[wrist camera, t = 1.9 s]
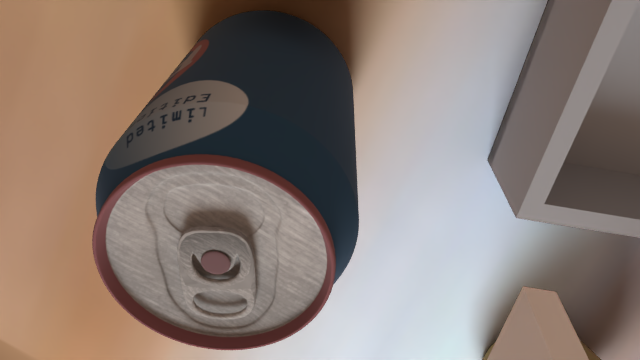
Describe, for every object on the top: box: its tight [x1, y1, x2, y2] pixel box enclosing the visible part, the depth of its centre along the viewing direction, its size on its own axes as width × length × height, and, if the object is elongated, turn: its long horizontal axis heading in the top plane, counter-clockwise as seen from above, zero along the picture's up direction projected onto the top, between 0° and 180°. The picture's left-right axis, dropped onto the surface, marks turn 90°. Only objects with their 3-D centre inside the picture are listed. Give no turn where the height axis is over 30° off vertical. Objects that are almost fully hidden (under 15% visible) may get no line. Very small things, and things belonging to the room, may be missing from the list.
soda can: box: [92, 10, 359, 350], centre depth 18 cm, size 7×7×12 cm
